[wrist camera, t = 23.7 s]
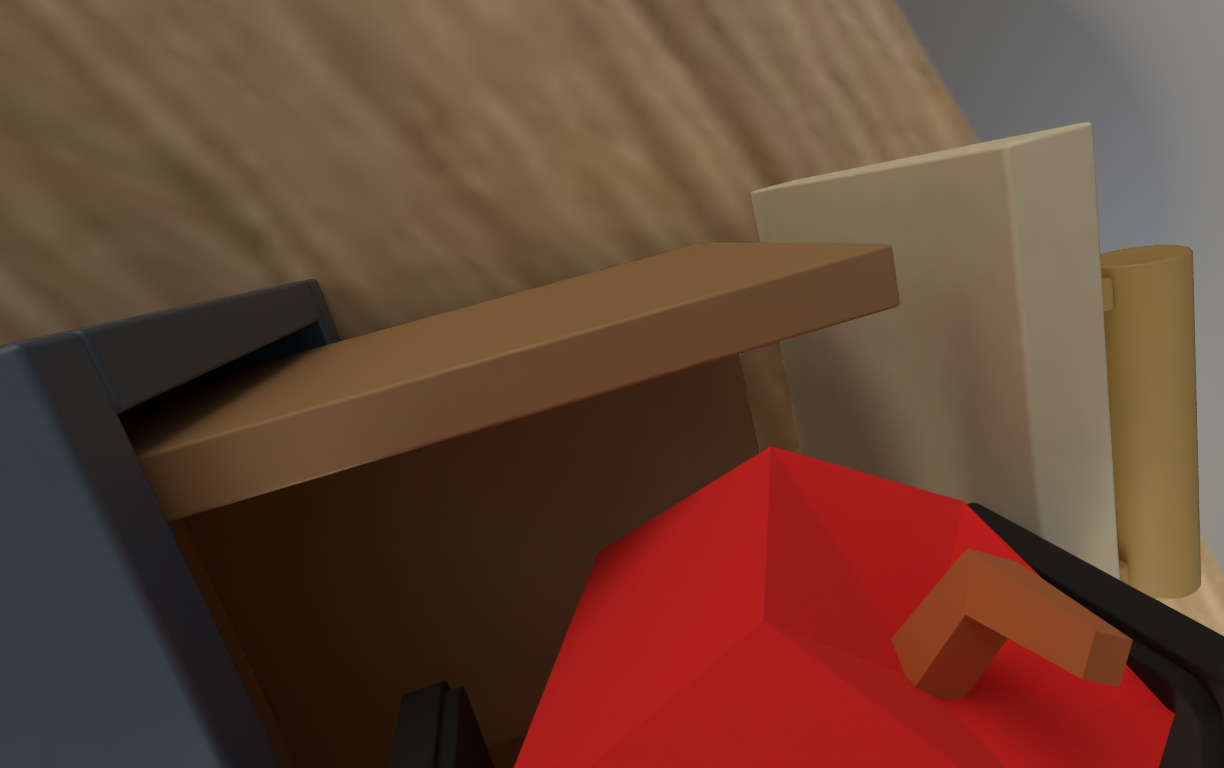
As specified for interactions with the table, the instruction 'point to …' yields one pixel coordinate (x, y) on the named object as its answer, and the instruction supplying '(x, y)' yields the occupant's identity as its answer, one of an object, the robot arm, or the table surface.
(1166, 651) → the robot arm
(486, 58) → the table surface
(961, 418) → the drawer
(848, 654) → the apple
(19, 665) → the cabinet
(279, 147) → the table surface
